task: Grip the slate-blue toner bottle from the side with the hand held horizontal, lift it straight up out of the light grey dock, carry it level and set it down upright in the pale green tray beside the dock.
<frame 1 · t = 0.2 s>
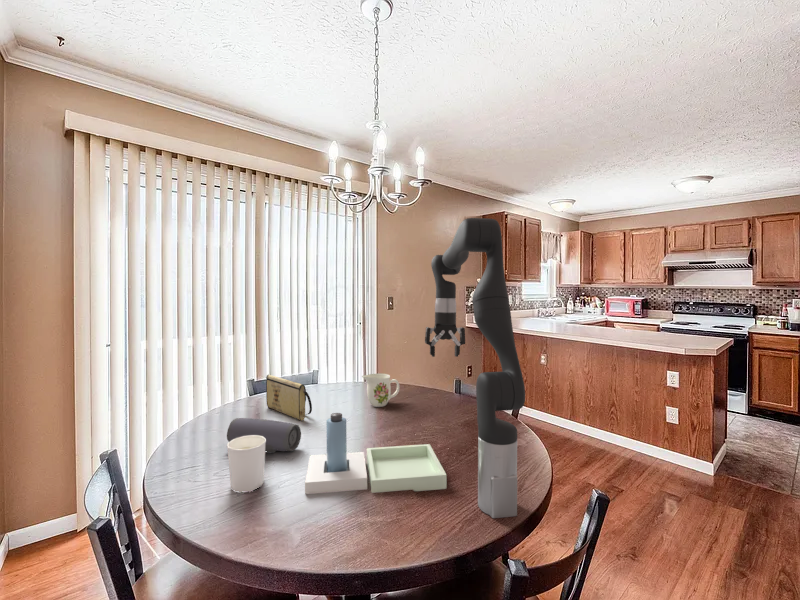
hand: (444, 356, 137), 29 cm above the table, tool pointing down, fingers open, 8 cm apart
bluetooth speaker: (264, 450, 127), on the table
toner bottle: (336, 476, 108), point 1 cm above the table, touching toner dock
pitcher: (380, 404, 175), on the table
clutch purse: (289, 413, 164), on the table
tray: (403, 473, 111), on the table
candle holder: (247, 486, 104), on the table
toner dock: (336, 478, 108), on the table
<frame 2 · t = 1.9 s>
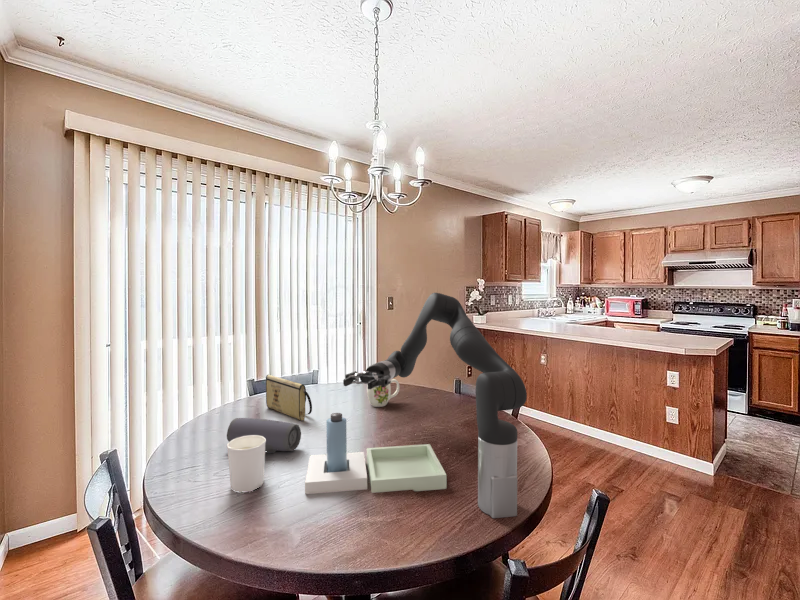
hand: (356, 384, 117), 24 cm above the table, tool horizontal, fingers open, 8 cm apart
nothing on the table moved.
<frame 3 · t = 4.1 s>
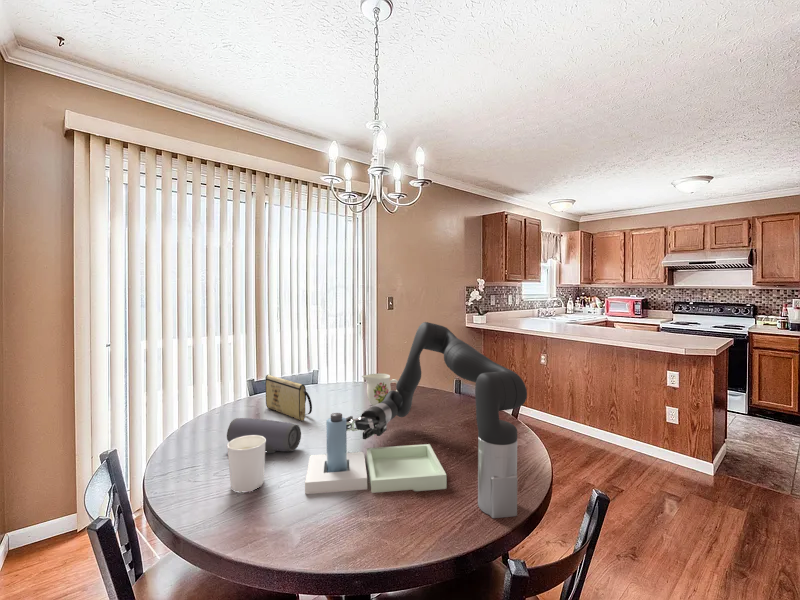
hand: (351, 433, 115), 10 cm above the table, tool horizontal, fingers open, 8 cm apart
nothing on the table moved.
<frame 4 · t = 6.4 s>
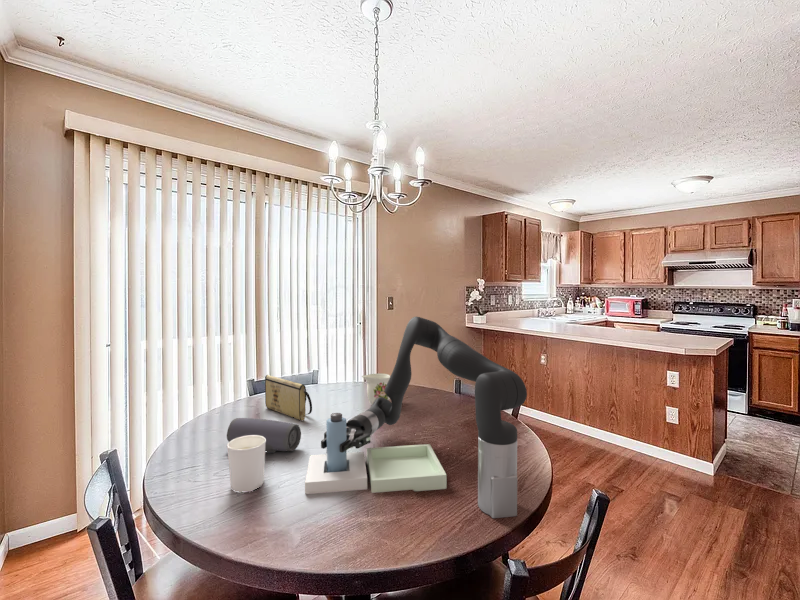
hand: (331, 446, 105), 10 cm above the table, tool horizontal, fingers closed on toner bottle, 5 cm apart
toner bottle: (336, 476, 108), point 1 cm above the table, touching gripper, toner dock
everything else where it was.
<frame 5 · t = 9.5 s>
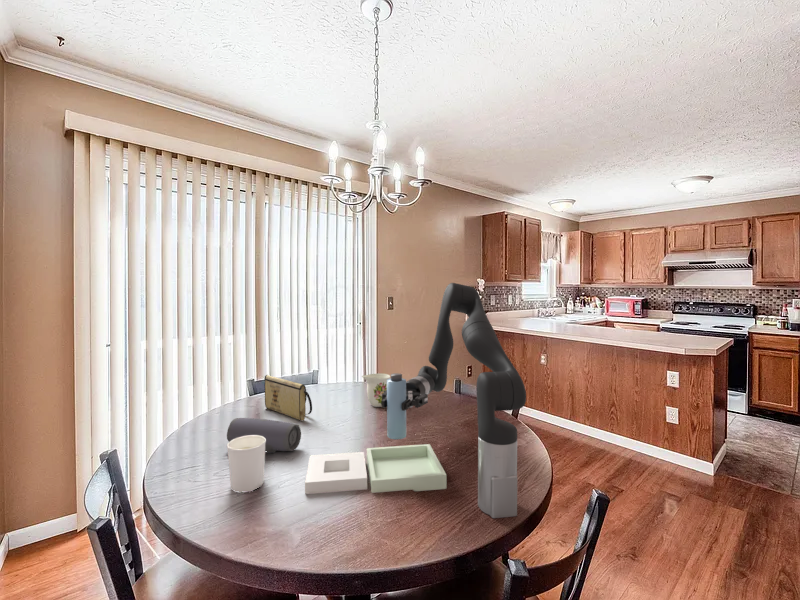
hand: (393, 405, 107), 21 cm above the table, tool horizontal, fingers closed on toner bottle, 5 cm apart
toner bottle: (396, 435, 110), point 11 cm above the table, touching gripper
everything else where it was.
when the fingers open (11 cm above the table, at t = 12.5 s): toner bottle drops 1 cm, resting on tray.
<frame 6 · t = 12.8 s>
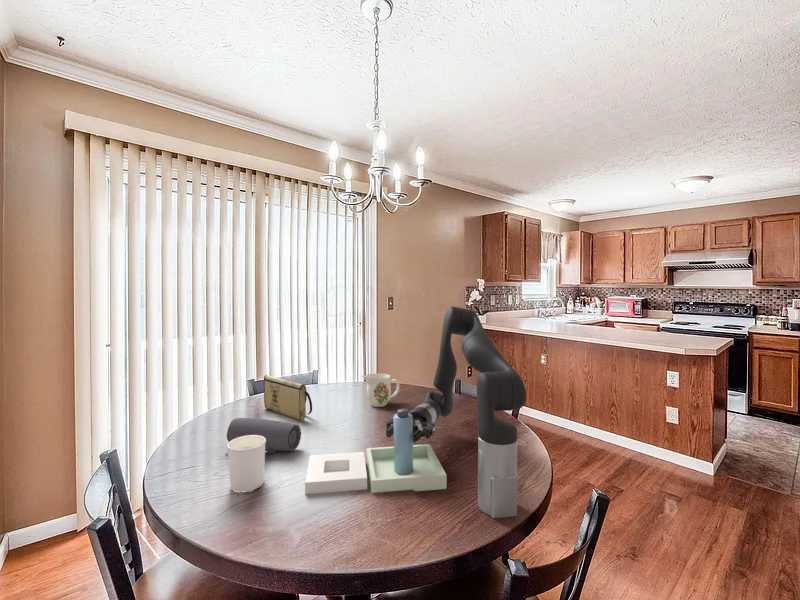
hand: (400, 436, 108), 12 cm above the table, tool horizontal, fingers open, 7 cm apart
toner bottle: (403, 470, 111), point 1 cm above the table, touching tray
everything else where it was.
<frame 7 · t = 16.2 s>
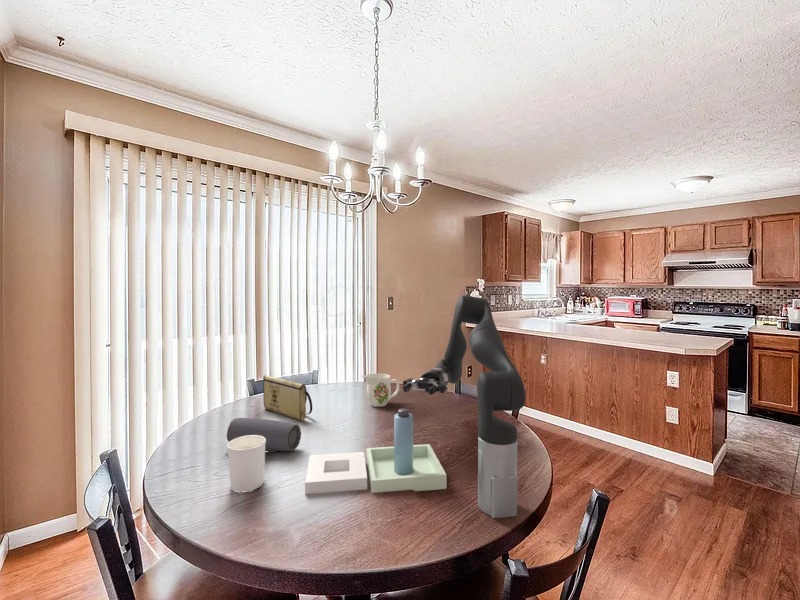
hand: (417, 390, 120), 21 cm above the table, tool horizontal, fingers open, 8 cm apart
nothing on the table moved.
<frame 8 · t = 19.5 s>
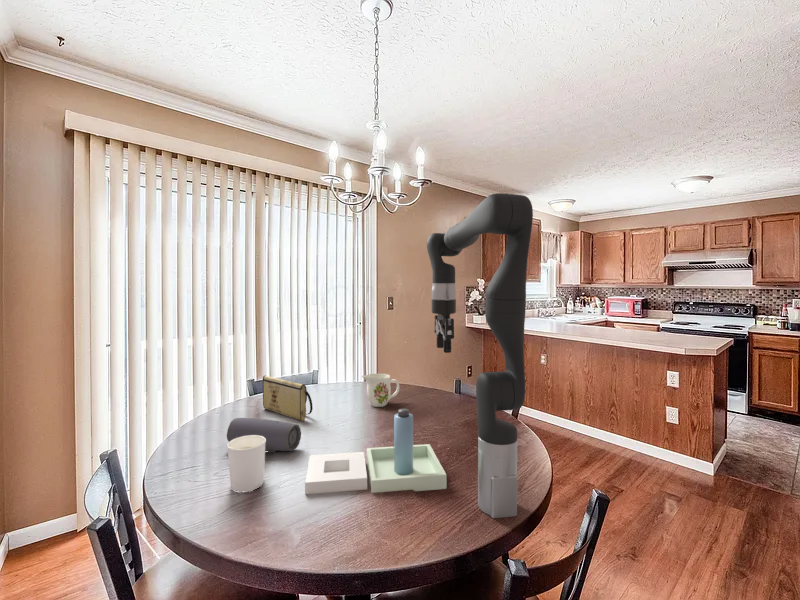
hand: (443, 350, 119), 34 cm above the table, tool pointing down, fingers open, 8 cm apart
at the end: toner bottle inside the target area on the tray (0.1 cm from its centre), point 0.8 cm above the tray's base; toner bottle tilted 0°; the gripper is holding nothing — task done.
